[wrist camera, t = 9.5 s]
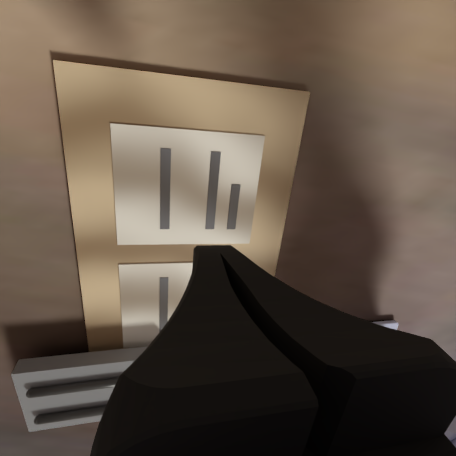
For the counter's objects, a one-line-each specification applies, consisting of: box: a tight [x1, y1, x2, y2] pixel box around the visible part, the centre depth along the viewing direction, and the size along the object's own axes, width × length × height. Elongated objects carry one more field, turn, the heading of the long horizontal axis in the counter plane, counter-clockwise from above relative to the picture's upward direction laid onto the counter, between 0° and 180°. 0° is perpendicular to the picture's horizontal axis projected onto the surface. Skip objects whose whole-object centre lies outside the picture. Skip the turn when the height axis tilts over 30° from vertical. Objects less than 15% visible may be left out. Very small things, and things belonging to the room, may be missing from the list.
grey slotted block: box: [11, 346, 148, 432], centre depth 22 cm, size 12×6×2 cm, turn 85°
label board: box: [53, 60, 310, 352], centre depth 21 cm, size 23×14×1 cm, turn 174°
